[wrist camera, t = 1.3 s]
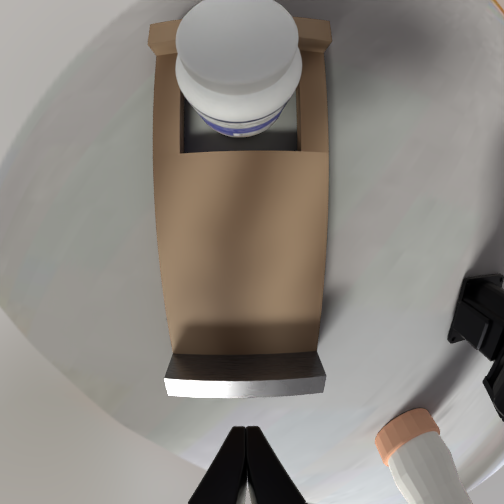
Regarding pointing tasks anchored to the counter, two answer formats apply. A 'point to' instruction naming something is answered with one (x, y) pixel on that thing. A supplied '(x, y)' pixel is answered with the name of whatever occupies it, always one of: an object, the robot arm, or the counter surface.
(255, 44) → the pill bottle
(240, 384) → the brown long shallow piece
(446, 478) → the pepper shaker
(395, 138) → the counter surface
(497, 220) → the counter surface
